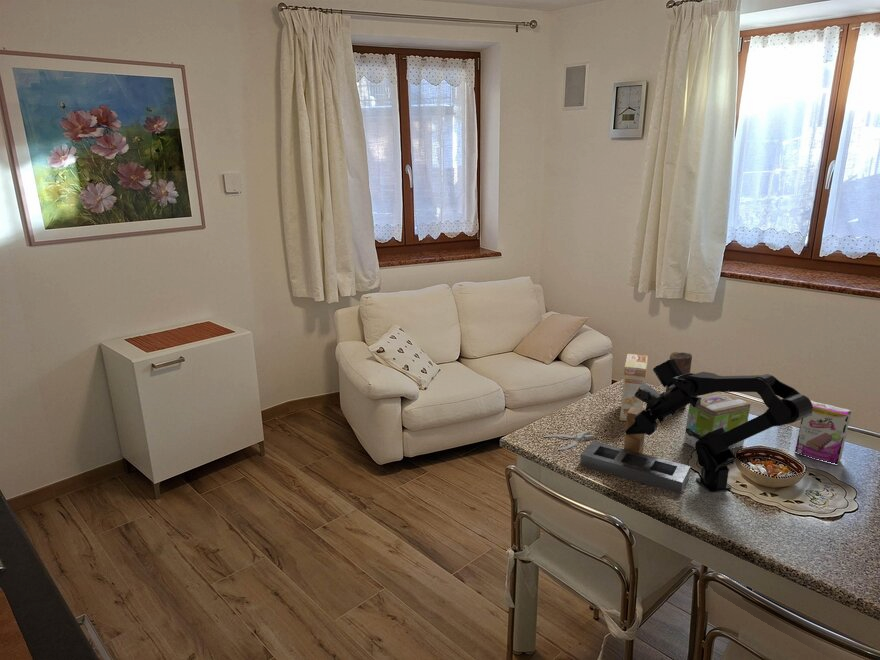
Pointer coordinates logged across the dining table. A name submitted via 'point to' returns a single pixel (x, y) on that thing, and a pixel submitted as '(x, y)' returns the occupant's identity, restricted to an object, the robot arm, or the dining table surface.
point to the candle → (681, 364)
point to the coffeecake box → (633, 382)
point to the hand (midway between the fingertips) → (630, 427)
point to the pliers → (578, 438)
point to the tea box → (715, 416)
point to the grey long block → (636, 466)
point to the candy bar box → (823, 432)
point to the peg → (633, 440)
